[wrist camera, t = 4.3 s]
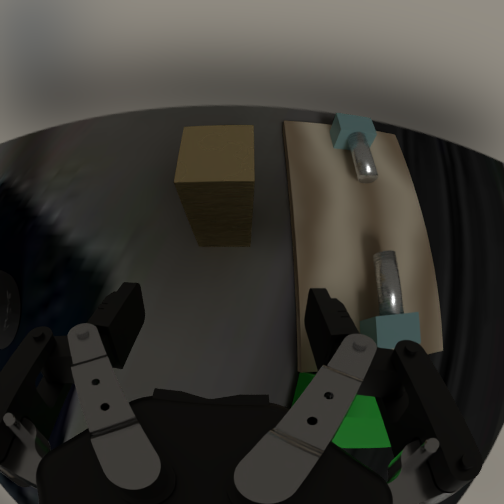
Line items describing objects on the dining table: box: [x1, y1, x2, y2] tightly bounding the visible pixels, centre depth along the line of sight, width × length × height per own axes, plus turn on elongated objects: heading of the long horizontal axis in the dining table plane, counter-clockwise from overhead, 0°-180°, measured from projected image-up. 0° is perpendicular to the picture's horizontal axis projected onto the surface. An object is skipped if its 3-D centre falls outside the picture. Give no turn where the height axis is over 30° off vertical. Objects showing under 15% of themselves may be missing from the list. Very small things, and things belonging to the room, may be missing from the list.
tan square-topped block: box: [174, 125, 255, 247], centre depth 20 cm, size 4×4×10 cm
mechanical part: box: [291, 372, 391, 448], centre depth 16 cm, size 12×6×8 cm, turn 77°
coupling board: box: [283, 113, 443, 373], centre depth 23 cm, size 14×25×4 cm, turn 1°
